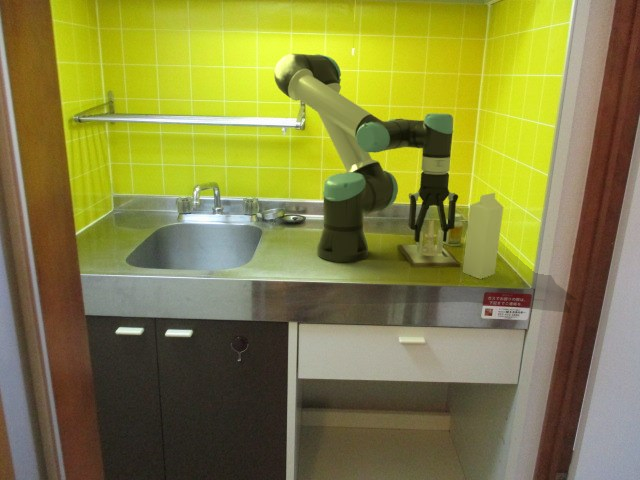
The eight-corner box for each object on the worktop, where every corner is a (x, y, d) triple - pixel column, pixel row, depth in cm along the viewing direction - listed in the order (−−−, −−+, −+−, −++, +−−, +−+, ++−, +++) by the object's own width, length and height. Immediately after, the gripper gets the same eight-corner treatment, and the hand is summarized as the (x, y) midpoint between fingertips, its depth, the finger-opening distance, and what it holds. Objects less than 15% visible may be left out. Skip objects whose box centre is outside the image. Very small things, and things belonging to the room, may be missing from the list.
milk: (494, 275, 133) (506, 195, 126) (480, 279, 130) (491, 198, 123) (475, 267, 138) (486, 190, 131) (461, 272, 135) (471, 193, 128)
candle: (436, 250, 145) (439, 215, 142) (440, 256, 140) (442, 220, 137) (418, 250, 145) (420, 215, 142) (421, 256, 140) (423, 220, 137)
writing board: (411, 267, 138) (411, 263, 138) (397, 247, 154) (398, 243, 154) (460, 266, 139) (460, 262, 139) (441, 246, 155) (442, 243, 155)
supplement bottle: (439, 243, 158) (442, 214, 155) (450, 240, 161) (452, 211, 158) (453, 247, 154) (456, 218, 151) (464, 244, 157) (467, 215, 154)
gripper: (405, 174, 131) (400, 257, 138) (472, 174, 132) (464, 256, 139) (399, 169, 138) (395, 248, 145) (463, 169, 139) (456, 247, 146)
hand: (429, 252), depth 142 cm, fingers closed on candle, 5 cm apart
